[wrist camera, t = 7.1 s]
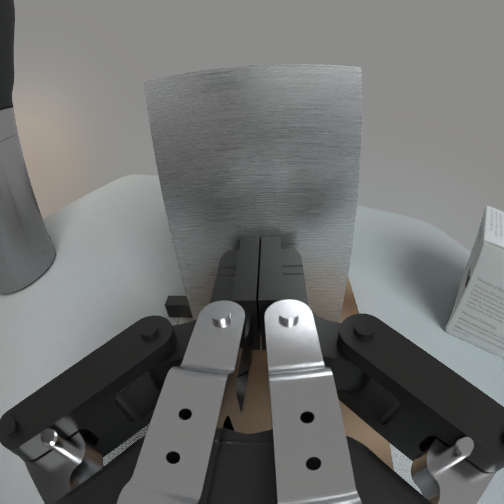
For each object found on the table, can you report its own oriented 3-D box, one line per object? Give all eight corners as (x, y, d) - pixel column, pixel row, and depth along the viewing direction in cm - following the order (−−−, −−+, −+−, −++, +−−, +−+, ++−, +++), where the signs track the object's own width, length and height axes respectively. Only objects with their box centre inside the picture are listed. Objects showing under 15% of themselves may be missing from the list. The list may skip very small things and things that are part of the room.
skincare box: (457, 285, 19) (484, 202, 15) (514, 310, 16) (550, 231, 12) (442, 333, 16) (482, 237, 12) (510, 364, 12) (564, 276, 8)
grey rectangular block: (334, 347, 15) (361, 67, 7) (161, 347, 15) (85, 97, 8) (322, 286, 19) (330, 70, 12) (181, 289, 19) (139, 87, 12)
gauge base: (385, 483, 9) (466, 424, 5) (146, 481, 10) (59, 421, 6) (324, 223, 29) (327, 153, 25) (215, 226, 30) (205, 158, 26)
